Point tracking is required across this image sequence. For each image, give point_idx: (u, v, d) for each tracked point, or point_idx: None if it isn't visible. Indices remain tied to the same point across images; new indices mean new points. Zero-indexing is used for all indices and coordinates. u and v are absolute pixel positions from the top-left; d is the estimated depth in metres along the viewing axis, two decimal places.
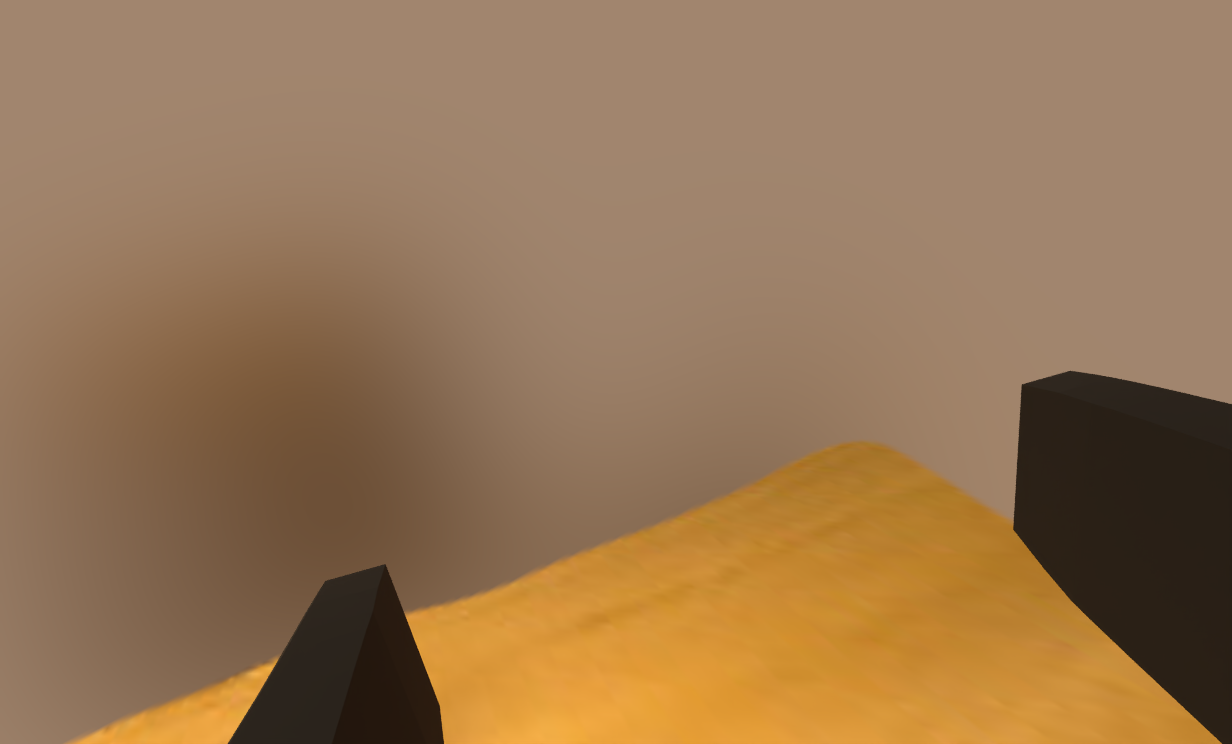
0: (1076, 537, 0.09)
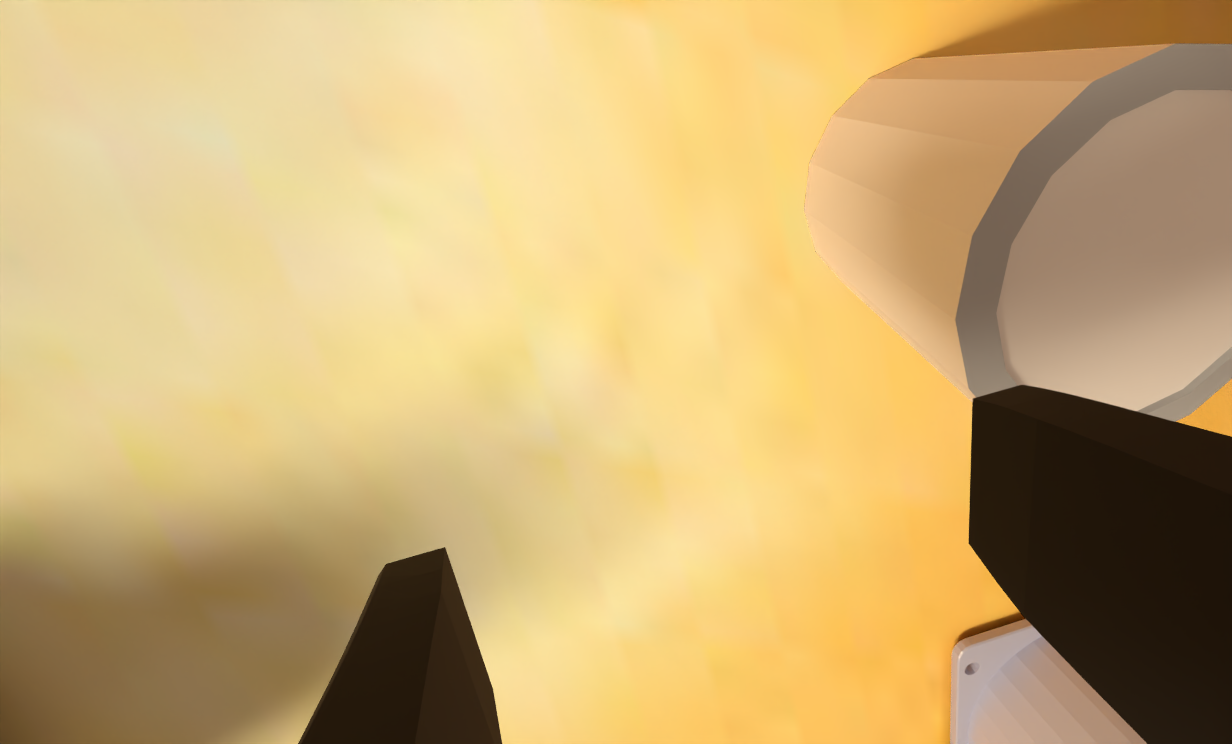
0: (1026, 552, 0.09)
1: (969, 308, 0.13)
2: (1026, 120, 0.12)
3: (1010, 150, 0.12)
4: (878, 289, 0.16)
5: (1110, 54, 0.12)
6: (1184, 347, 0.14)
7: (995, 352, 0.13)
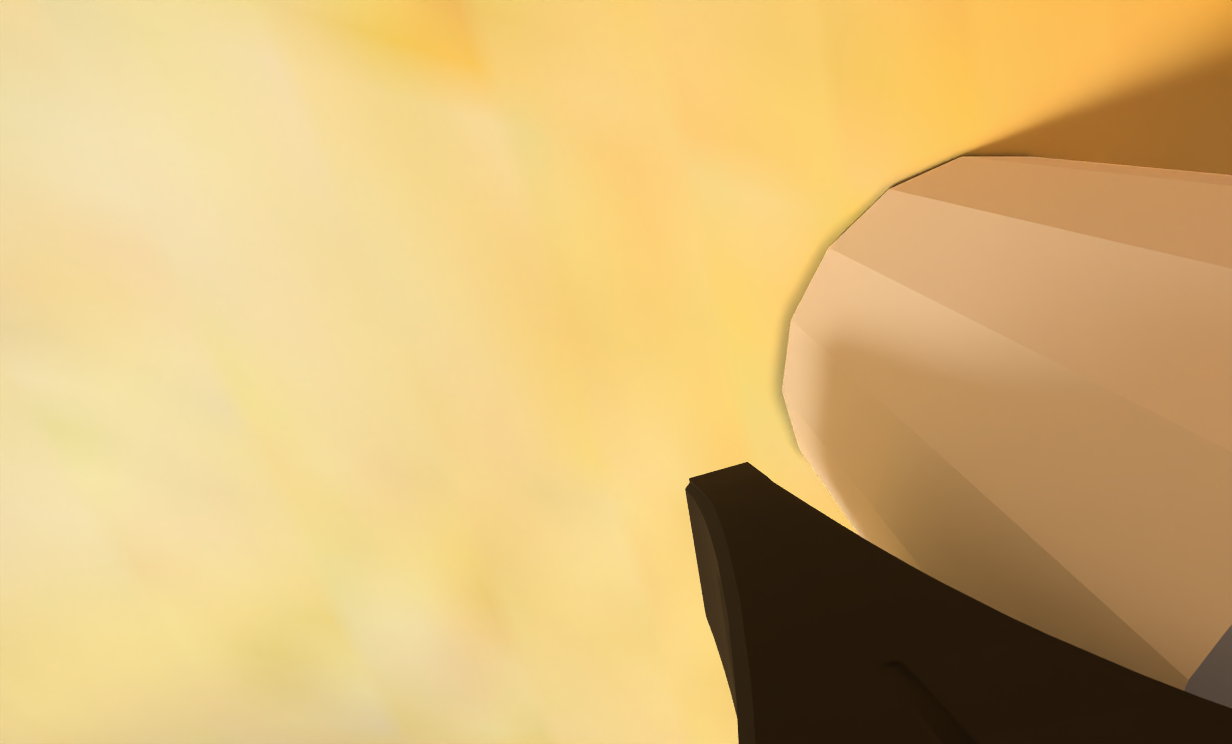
0: None
1: None
2: None
3: None
4: None
5: None
6: None
7: None
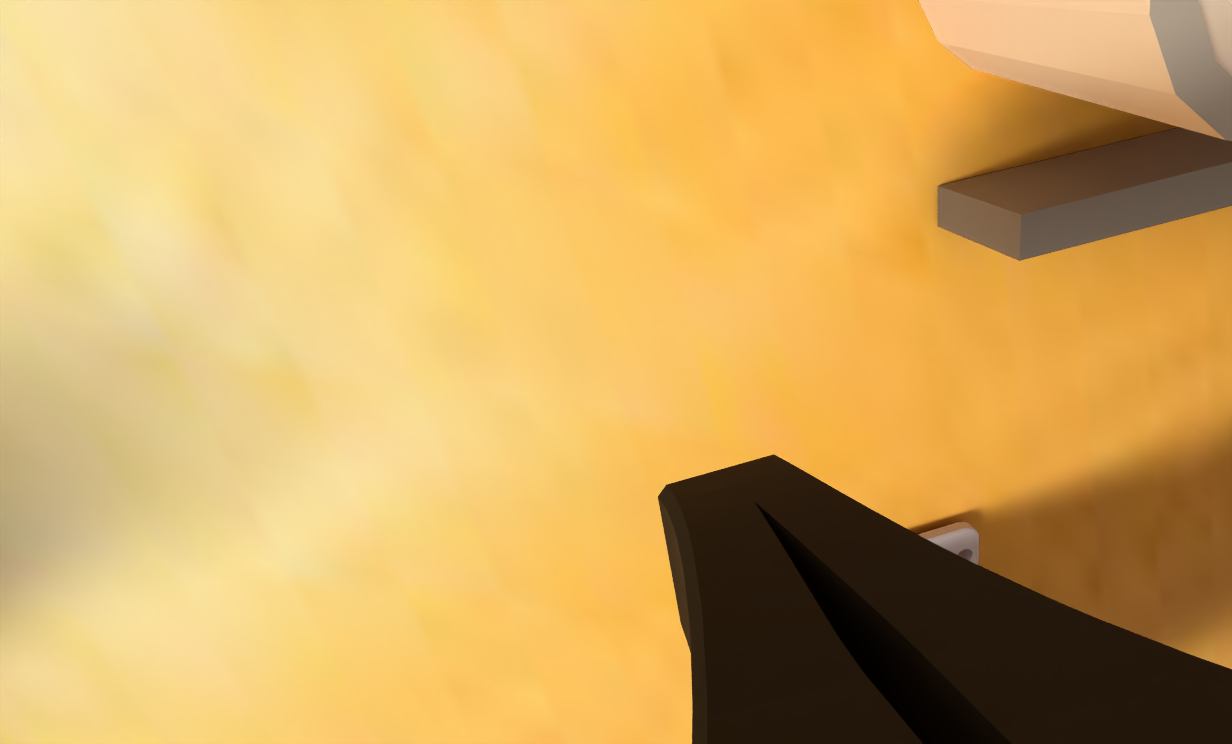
0: None
1: None
2: None
3: None
4: None
5: None
6: None
7: None
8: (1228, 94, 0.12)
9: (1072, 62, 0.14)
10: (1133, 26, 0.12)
